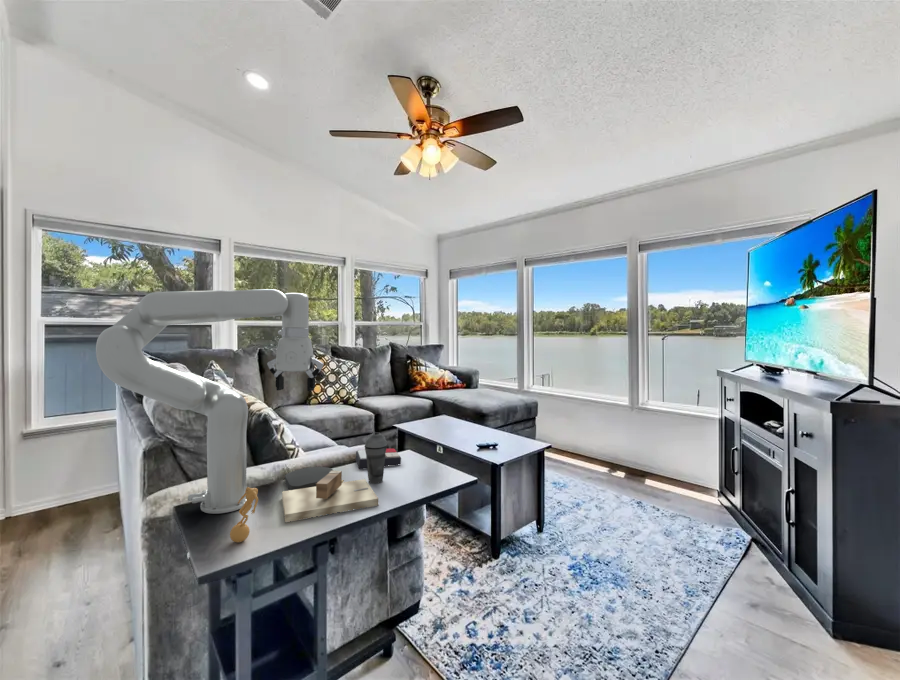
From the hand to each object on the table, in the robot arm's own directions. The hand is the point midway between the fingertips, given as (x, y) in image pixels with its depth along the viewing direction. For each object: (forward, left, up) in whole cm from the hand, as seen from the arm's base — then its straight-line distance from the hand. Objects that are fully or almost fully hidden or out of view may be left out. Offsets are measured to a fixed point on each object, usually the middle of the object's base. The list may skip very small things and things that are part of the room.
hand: (295, 390), depth 122 cm
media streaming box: (+5, +4, -31) cm, 32 cm away
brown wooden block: (+8, -14, -28) cm, 32 cm away
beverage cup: (+24, -4, -31) cm, 39 cm away
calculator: (+30, +14, -31) cm, 45 cm away
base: (+8, -14, -30) cm, 34 cm away
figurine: (-13, -27, -31) cm, 43 cm away
